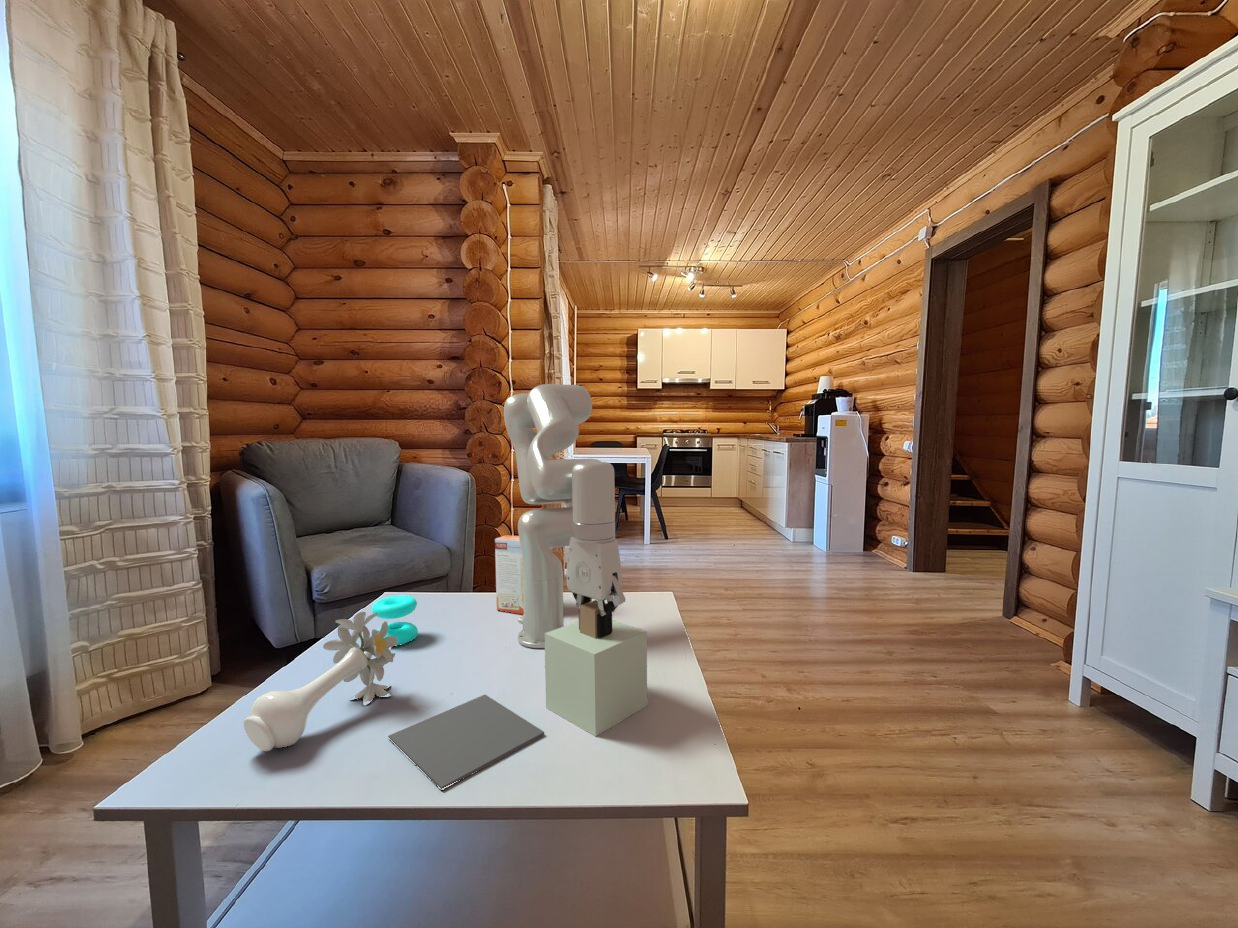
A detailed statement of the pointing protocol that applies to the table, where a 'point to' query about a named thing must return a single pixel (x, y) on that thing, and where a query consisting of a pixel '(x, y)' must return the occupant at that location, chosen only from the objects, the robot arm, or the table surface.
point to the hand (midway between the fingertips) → (595, 630)
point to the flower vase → (322, 684)
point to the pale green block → (595, 672)
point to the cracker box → (509, 574)
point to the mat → (465, 739)
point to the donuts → (397, 616)
